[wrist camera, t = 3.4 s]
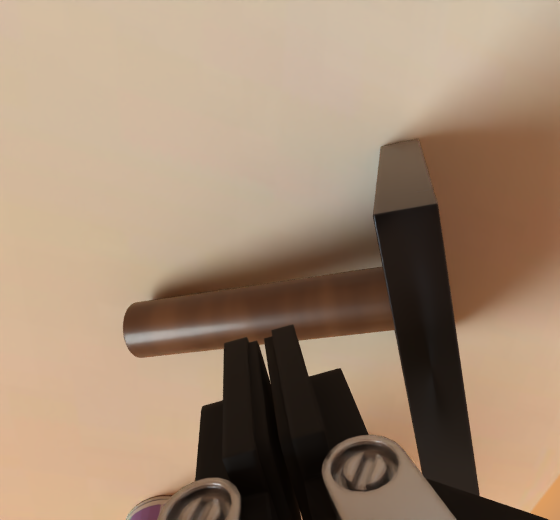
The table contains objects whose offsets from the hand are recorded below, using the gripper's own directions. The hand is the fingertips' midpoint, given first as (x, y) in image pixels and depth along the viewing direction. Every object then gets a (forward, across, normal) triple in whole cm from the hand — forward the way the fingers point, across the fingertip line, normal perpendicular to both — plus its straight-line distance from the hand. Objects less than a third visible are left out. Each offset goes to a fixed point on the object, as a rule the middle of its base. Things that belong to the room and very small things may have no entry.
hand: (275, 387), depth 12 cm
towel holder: (+17, -1, +4) cm, 17 cm away
